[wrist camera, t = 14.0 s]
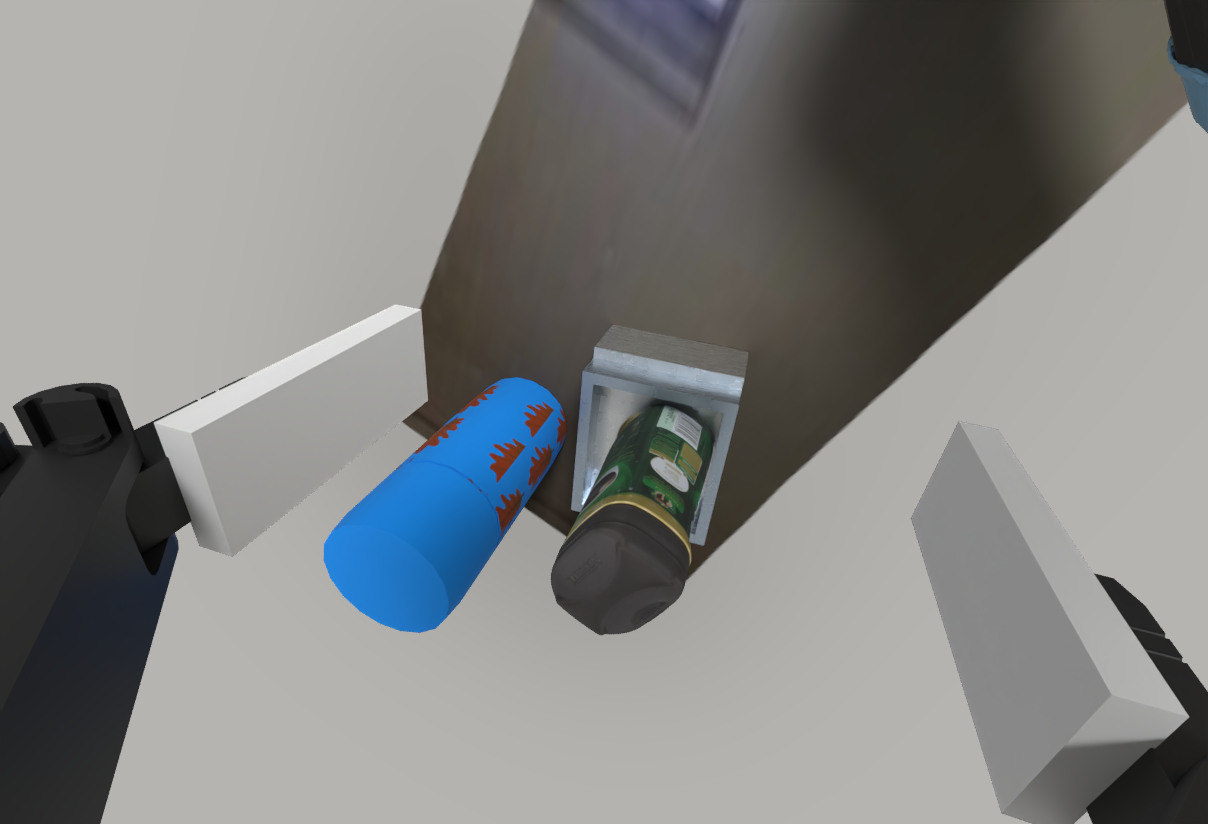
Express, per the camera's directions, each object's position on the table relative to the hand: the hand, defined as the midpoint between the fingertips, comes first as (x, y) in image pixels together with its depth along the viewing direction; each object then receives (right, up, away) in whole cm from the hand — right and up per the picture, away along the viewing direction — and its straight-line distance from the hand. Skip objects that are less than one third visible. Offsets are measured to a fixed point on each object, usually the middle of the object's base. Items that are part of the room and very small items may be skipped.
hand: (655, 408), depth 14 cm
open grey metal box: (+5, 0, +42) cm, 42 cm away
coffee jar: (+4, -3, +37) cm, 37 cm away
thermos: (-10, -1, +48) cm, 49 cm away
